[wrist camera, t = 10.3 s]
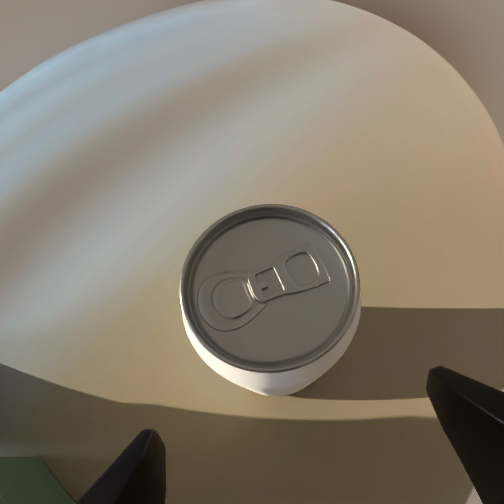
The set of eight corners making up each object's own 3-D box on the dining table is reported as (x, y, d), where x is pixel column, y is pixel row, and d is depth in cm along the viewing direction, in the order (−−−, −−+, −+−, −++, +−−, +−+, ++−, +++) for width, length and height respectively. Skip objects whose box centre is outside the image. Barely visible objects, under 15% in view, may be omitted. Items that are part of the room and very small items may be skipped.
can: (213, 322, 22) (146, 235, 11) (301, 287, 22) (314, 170, 12) (248, 411, 19) (205, 420, 8) (342, 371, 19) (409, 328, 9)
